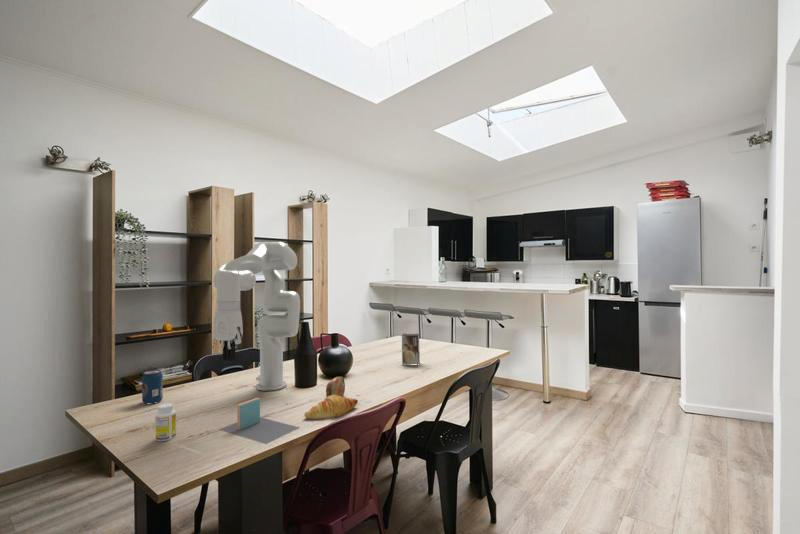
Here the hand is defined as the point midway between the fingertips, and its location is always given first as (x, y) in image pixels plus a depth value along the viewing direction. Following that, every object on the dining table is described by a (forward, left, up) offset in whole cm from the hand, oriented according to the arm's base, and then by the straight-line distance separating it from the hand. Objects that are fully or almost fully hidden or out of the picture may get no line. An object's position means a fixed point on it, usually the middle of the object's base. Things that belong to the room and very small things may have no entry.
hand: (229, 359), depth 140 cm
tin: (+18, +35, -21) cm, 45 cm away
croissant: (+26, +23, -22) cm, 41 cm away
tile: (+10, 0, -21) cm, 23 cm away
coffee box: (+16, +101, -21) cm, 104 cm away
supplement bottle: (-5, -19, -21) cm, 29 cm away
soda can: (-44, -2, -21) cm, 49 cm away
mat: (+15, 0, -21) cm, 26 cm away
